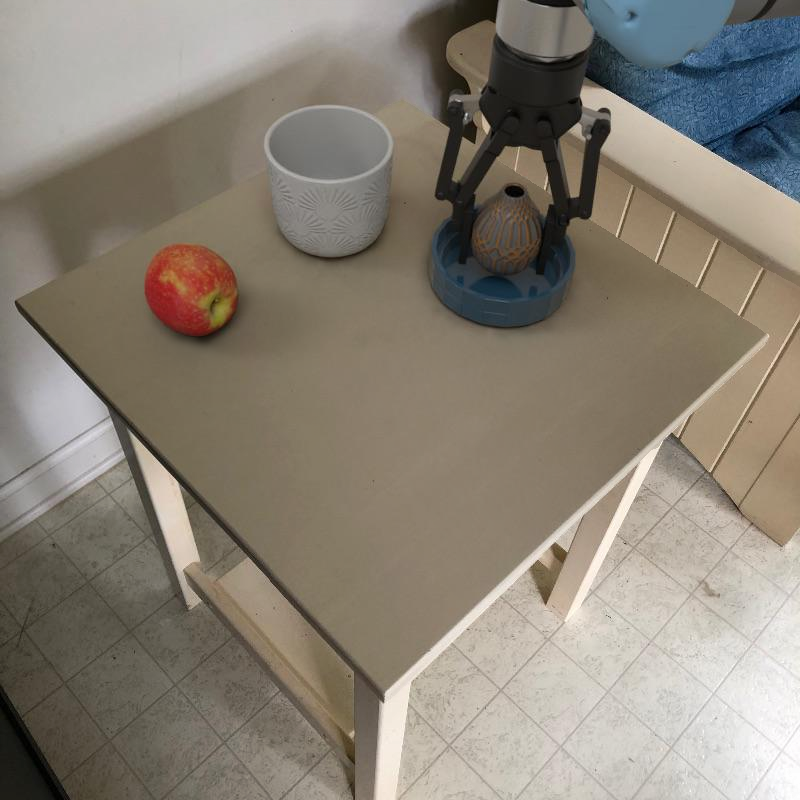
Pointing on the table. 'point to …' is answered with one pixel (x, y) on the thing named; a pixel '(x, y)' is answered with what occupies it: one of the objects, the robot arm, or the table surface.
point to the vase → (507, 231)
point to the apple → (191, 289)
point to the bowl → (498, 282)
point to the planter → (329, 178)
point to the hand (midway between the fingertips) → (501, 259)
